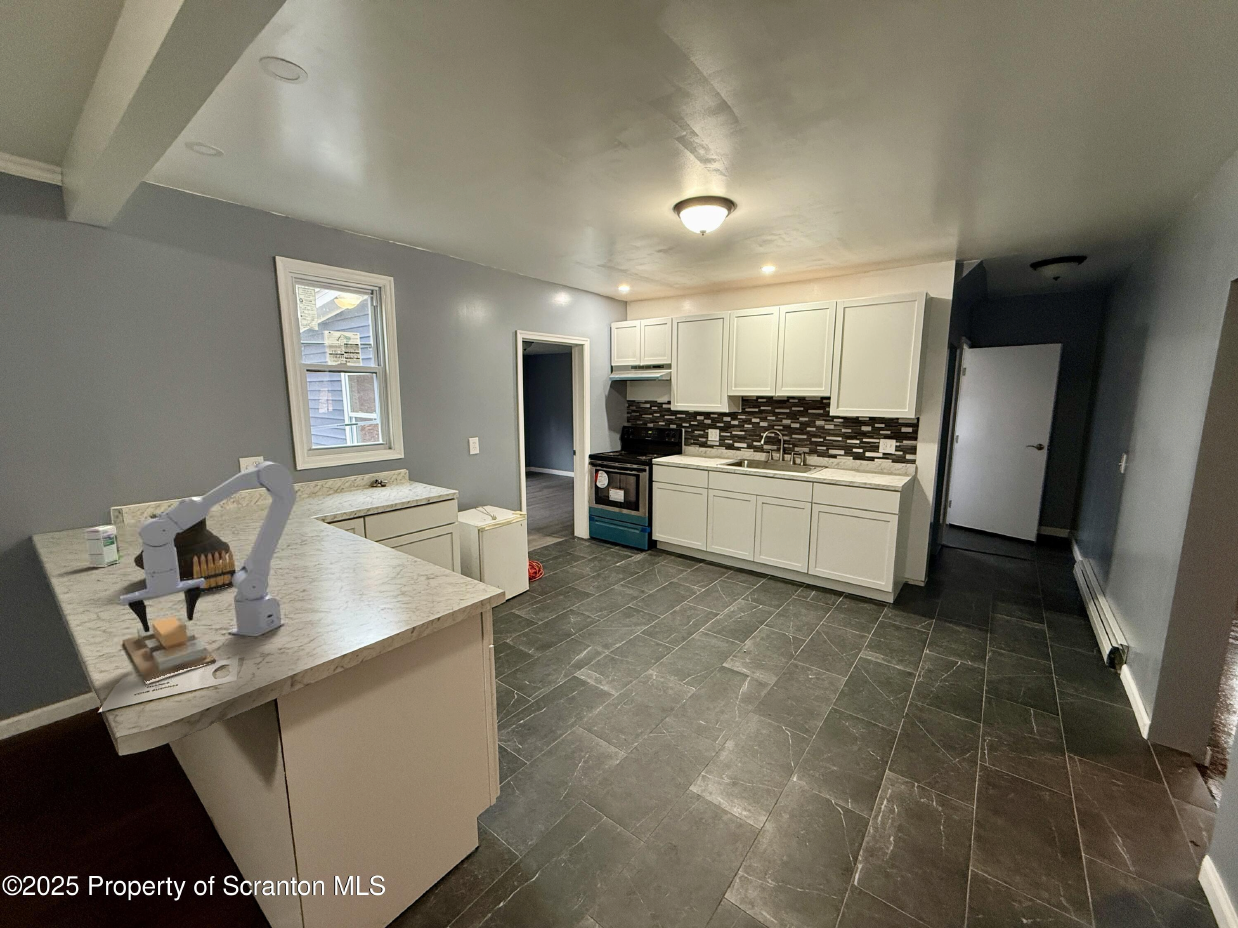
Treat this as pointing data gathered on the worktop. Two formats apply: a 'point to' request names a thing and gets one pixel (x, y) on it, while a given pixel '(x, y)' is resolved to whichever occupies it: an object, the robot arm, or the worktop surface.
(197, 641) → the rail
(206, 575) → the ammunition clip
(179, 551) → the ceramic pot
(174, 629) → the tan rectangular plank
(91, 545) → the syrup box
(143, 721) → the worktop surface
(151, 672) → the rail base
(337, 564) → the worktop surface
